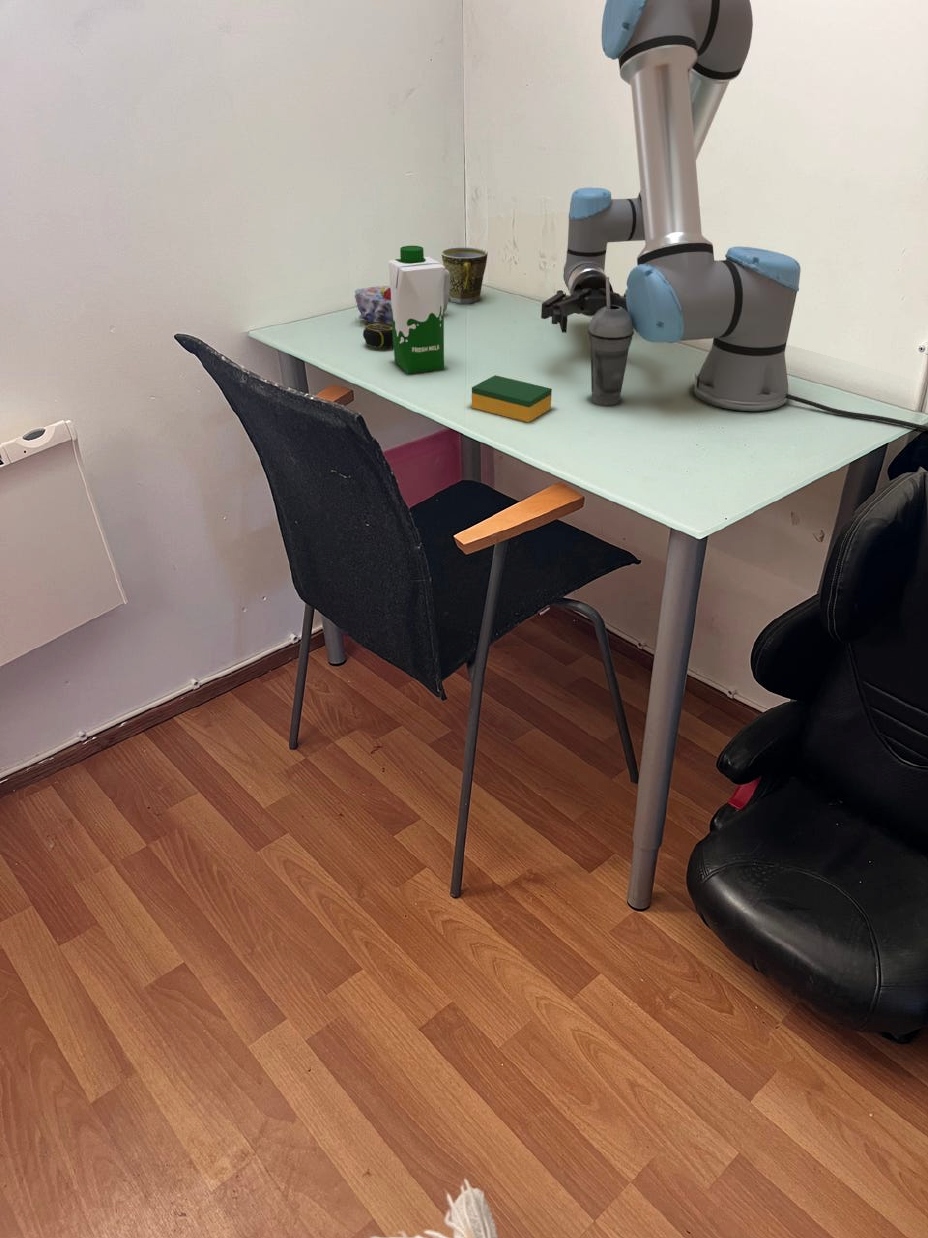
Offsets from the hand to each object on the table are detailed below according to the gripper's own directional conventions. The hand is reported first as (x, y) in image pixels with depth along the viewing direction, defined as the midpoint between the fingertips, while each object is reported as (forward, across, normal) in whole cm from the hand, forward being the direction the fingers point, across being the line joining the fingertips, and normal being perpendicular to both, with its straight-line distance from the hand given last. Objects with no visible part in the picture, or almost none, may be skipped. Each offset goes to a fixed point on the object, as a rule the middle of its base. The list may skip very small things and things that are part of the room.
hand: (605, 324), depth 153 cm
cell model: (-38, +36, -11) cm, 54 cm away
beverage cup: (+7, 0, -11) cm, 13 cm away
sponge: (+11, +16, -10) cm, 22 cm away
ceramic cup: (-52, +23, -11) cm, 58 cm away
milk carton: (-10, +32, -11) cm, 35 cm away
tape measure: (-22, +39, -11) cm, 46 cm away
